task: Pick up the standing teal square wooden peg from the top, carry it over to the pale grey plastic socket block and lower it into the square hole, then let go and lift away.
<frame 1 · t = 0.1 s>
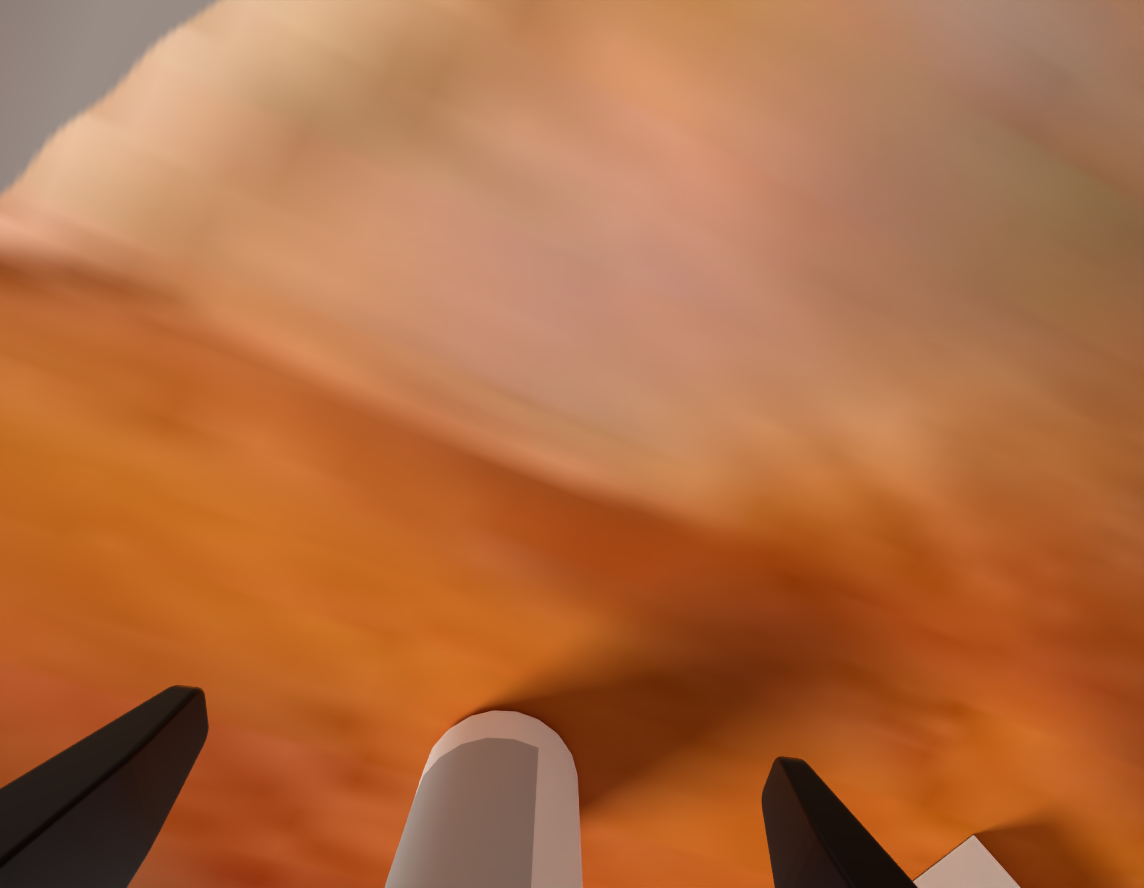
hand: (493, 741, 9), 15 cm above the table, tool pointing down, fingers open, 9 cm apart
white bottle: (501, 773, 26), on the table
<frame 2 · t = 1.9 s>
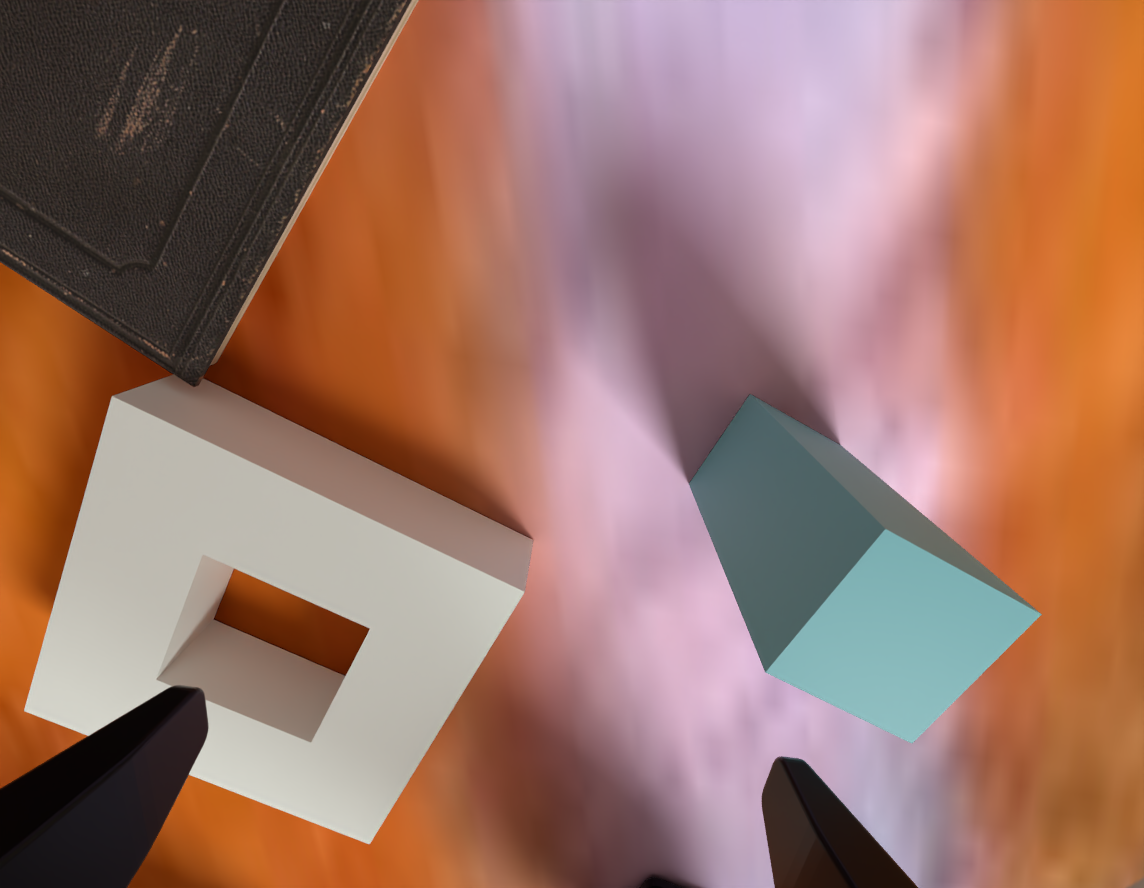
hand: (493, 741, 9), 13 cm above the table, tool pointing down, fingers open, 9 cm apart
socket block: (304, 596, 24), on the table
peg: (763, 464, 22), on the table
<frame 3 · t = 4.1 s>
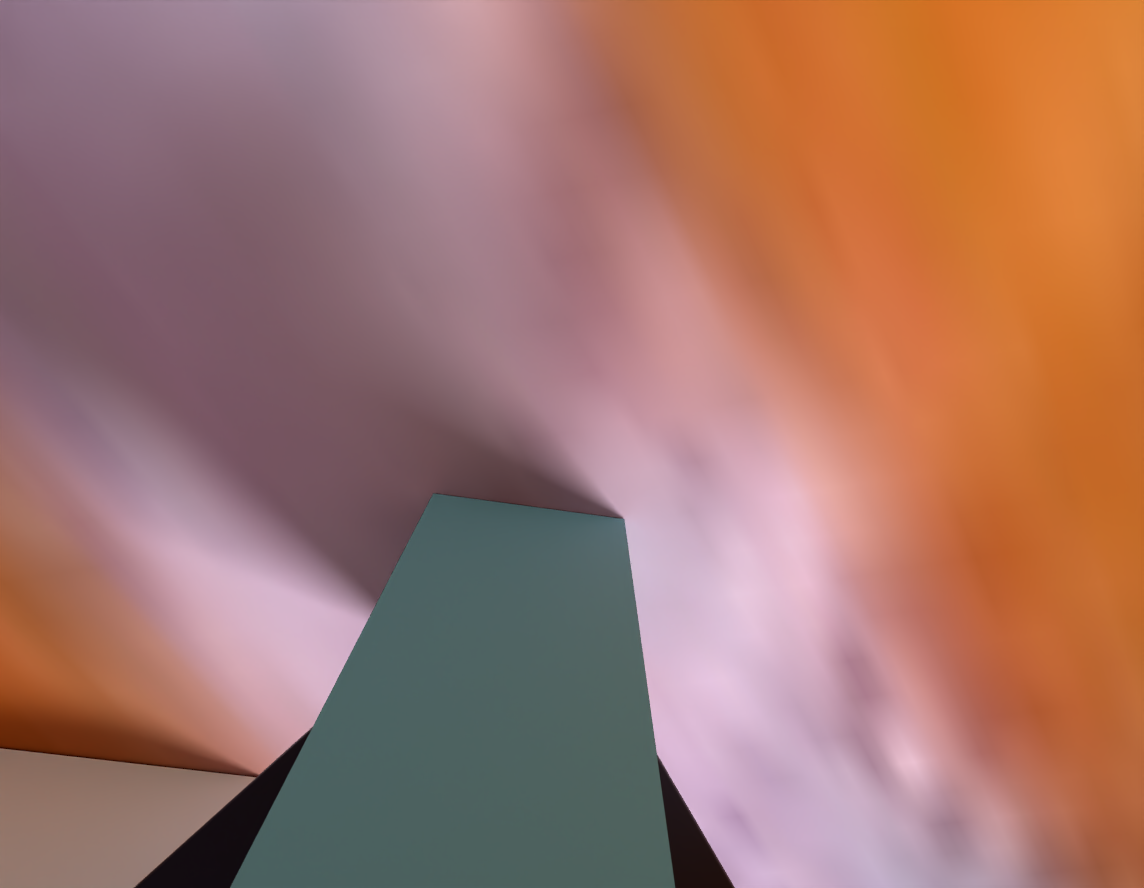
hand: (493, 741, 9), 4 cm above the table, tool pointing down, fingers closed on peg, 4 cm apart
peg: (518, 585, 13), on the table, touching gripper
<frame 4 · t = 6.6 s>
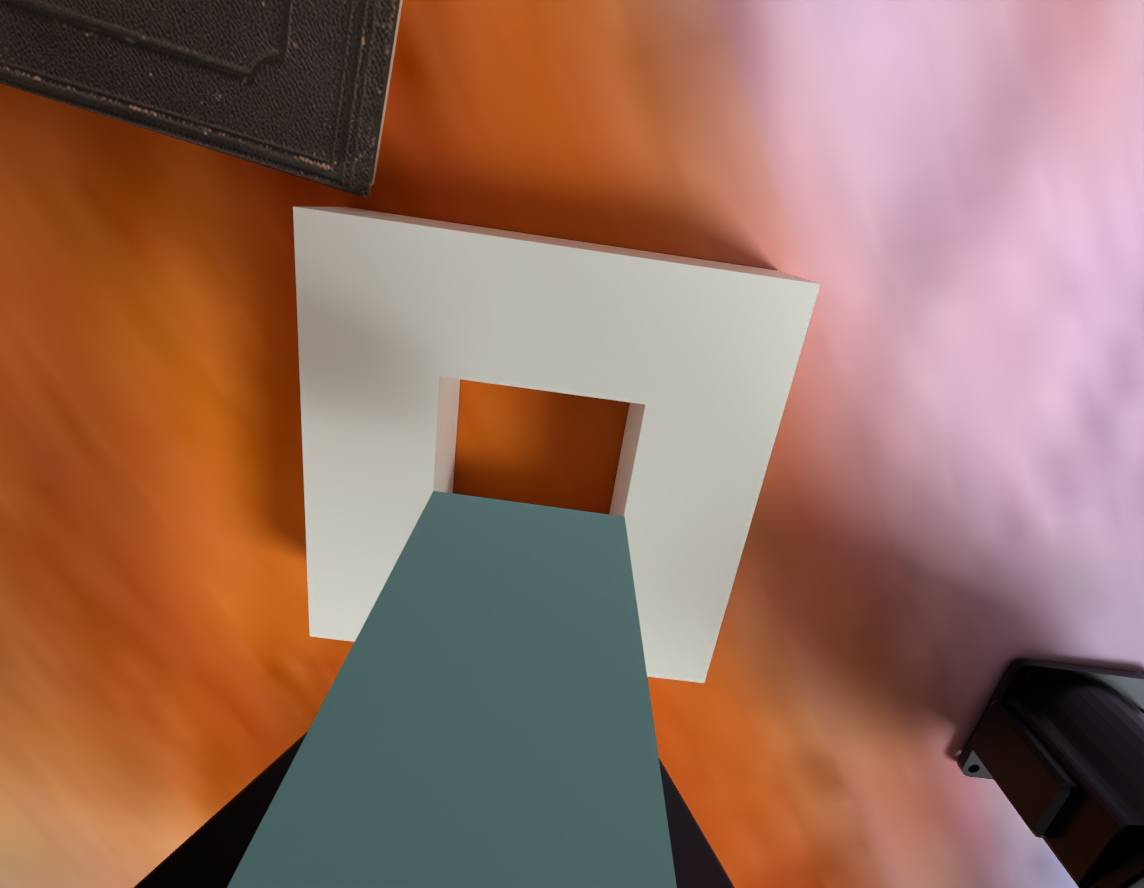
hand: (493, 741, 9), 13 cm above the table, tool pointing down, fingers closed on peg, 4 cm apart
socket block: (539, 440, 21), on the table
peg: (519, 583, 13), point 9 cm above the table, touching gripper
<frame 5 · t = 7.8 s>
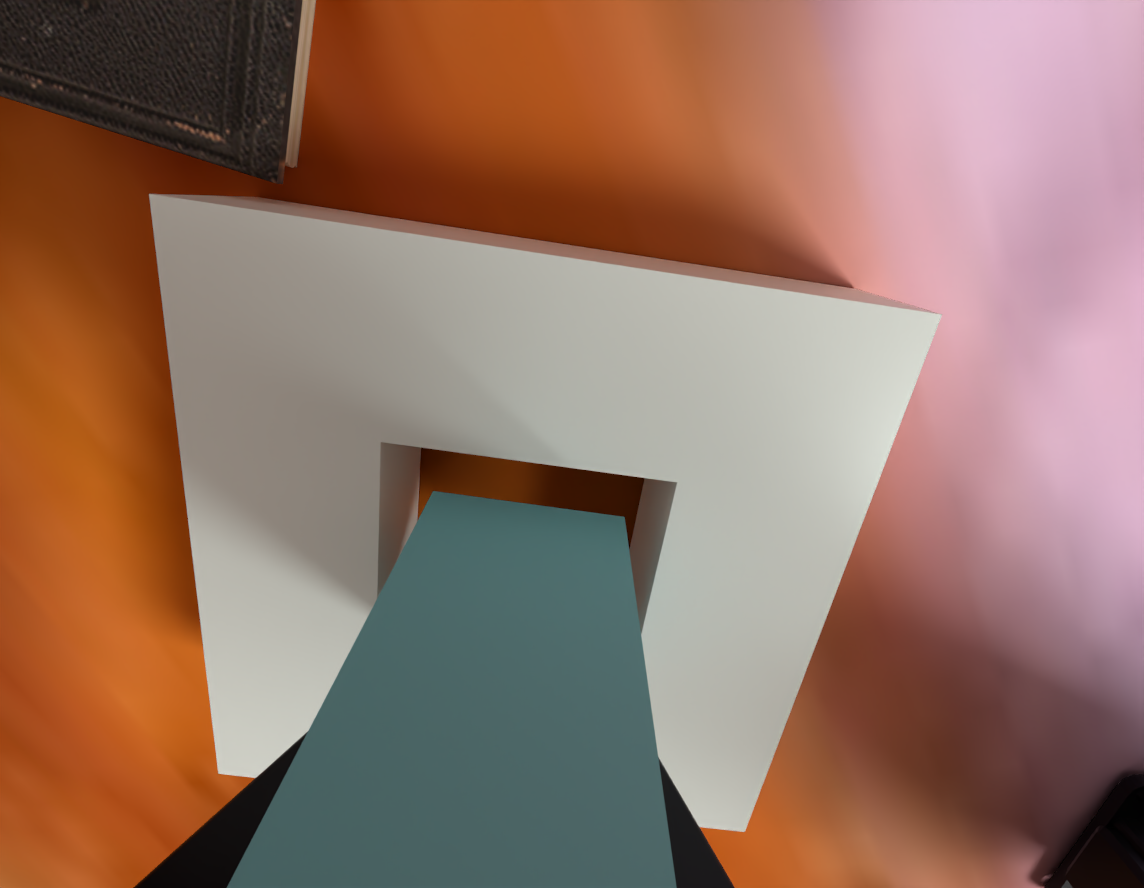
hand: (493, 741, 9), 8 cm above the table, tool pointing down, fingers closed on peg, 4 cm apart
socket block: (527, 509, 16), on the table
peg: (519, 583, 13), point 3 cm above the table, touching gripper
when the fingers open (5 cm above the table, at t = 9.0 s): peg drops 1 cm, resting in socket block.
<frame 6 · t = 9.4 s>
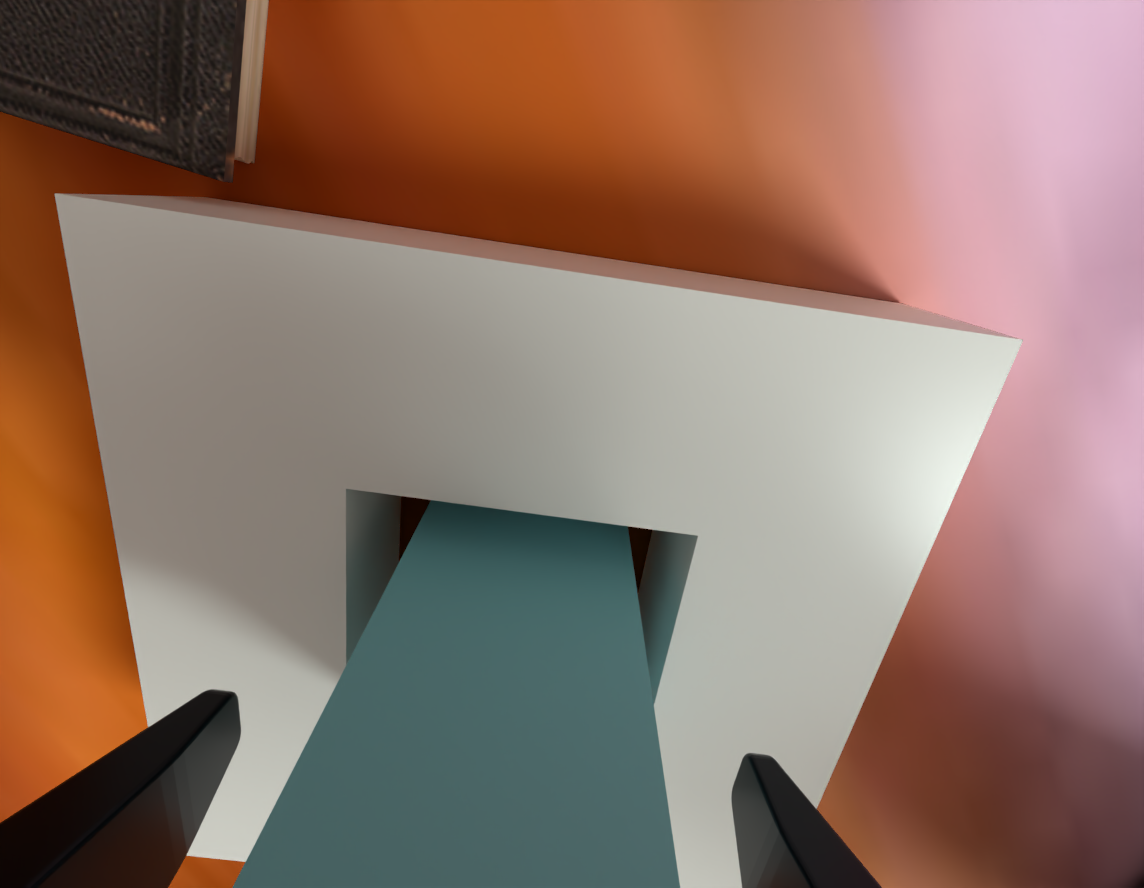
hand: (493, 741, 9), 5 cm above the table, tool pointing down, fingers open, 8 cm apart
socket block: (523, 550, 14), on the table
peg: (526, 547, 14), resting in socket block
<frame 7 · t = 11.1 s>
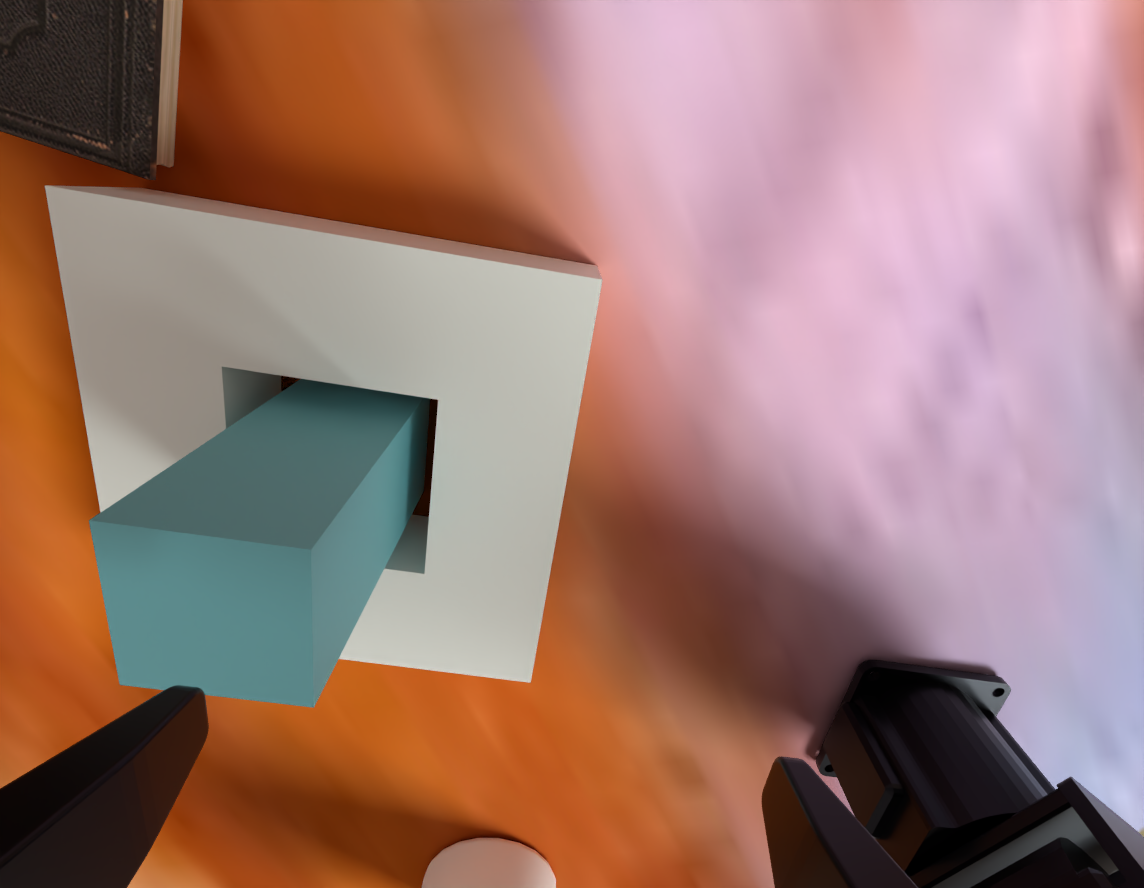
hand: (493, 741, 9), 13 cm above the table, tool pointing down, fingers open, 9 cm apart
white bottle: (491, 872, 31), on the table
socket block: (368, 434, 21), on the table
peg: (370, 433, 21), resting in socket block
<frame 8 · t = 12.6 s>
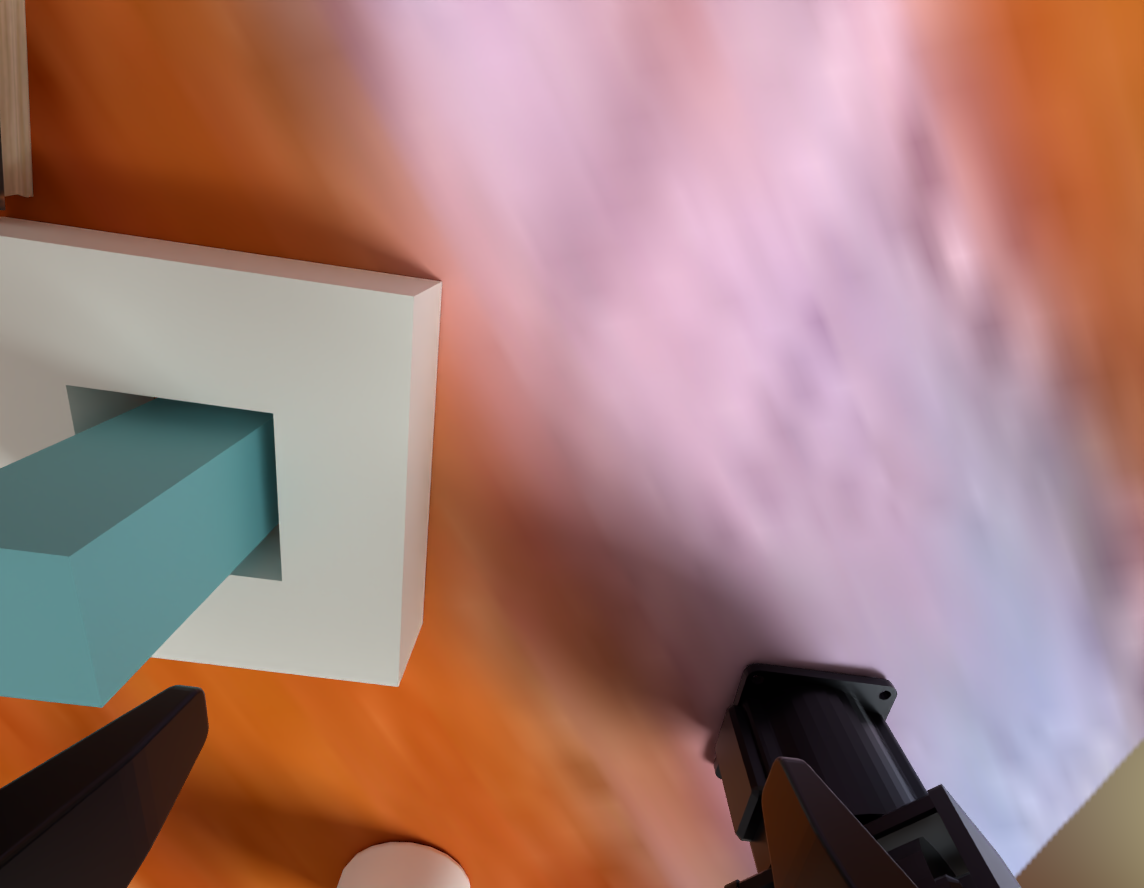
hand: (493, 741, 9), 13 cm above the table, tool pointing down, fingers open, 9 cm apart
white bottle: (409, 877, 31), on the table
socket block: (241, 447, 22), on the table
peg: (244, 445, 22), resting in socket block
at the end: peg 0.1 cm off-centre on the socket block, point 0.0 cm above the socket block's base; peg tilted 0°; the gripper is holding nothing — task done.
